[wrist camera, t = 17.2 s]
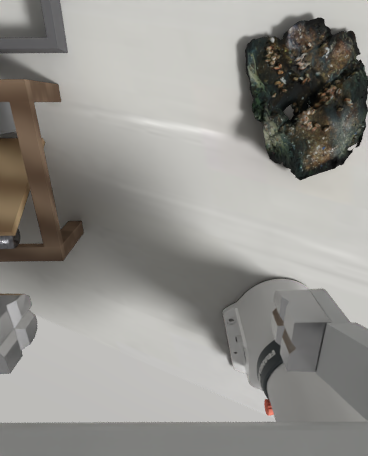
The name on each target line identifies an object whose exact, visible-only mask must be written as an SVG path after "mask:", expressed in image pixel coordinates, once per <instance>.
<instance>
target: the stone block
mask: <svg viewBox="0 0 368 456" xmlns="http://www.w3.org/2000/svg"><path fill="white" fill-rule="evenodd" d="M10 132H16V128H15V124H14V120H13V115H12V111H11V107H10V103H9V102H0V134H4V133H10Z"/></svg>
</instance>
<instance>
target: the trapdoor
mask: <svg viewBox="0 0 368 456" xmlns="http://www.w3.org/2000/svg"><path fill="white" fill-rule="evenodd" d="M41 139H42V144H43V148H44V145H45V141H44V140H43V138H41ZM29 191H30V186H29V182H28V178H27V174H26V170H25V165H24V161H23V157H22V153H21V149H20V145H19V140H18V138H0V249H15V248H16V247H17V246H18V245H19V242H20V232H19V230H18V225H19V222H20V219H21V216H22V213H23V210H24V207H25V204H26V201H27V197H28V194H29Z"/></svg>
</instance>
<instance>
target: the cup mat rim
mask: <svg viewBox="0 0 368 456" xmlns="http://www.w3.org/2000/svg"><path fill="white" fill-rule="evenodd" d="M40 1H41V6H42V12H43V18H44V23H45V29H46V35H47V38H0V53H68V51H67V44H66V38H65V31H64V24H63V18H62V11H61V5H60V0H40Z"/></svg>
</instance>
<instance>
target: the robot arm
mask: <svg viewBox="0 0 368 456" xmlns="http://www.w3.org/2000/svg"><path fill="white" fill-rule="evenodd" d="M31 306H32V302H31V299H30V297H29V296H28V295H26V294H0V374H9V373H11V372H12V370H13V369H14V367H15V366H16V364H17V363H18V361H19V360H20V359H21V357H22V349H24V348H25V347H27V346H28V345H30V344H31V342H32V341H33V339H34V337H35V334H36V331H37V319H36V316H35V314H33V313H32V312H31V311H30V310H29V309H30V307H31ZM223 318H224V324H225V329H226V334H227V340H228V345H229V350H230V355H231V360H232V365H233V368H234V370H236V371H238V372H240V373H243V374H247V378H248V382H249V384H250V385H251V386H253V387H255V388H257V389H260V390H263V391H264V393H265V395H266V397H267V398H268V399H265V411H266V414H267V415H274V417H275V420H276V422H115V423H114V422H108V423H107V422H106V423H105V422H101V423H100V422H99V423H98V422H94V423H0V456H368V329H367V328H365V327H363V326H361V325H360V324H358V323H351V322H350V321H349V319H348V318H347V317H346V316H345V314H344V313H343V312H342V310H341V309H340V308H339V307H338V305H337V304H336V303H335V301H334V300H333V299H332V298H331V296H330V295H329V294H328V292H327V291H326V290H324V289H309V288H308V287H306V286H305V285H304V284H302V283H300V282H297V281H294V280H290V279H273V280H268V281H265V282H262V283H260V284H258V285H256V286H254V287H252V288H251V289H250V290H248V291H247V292H246V293H245V294H244V295H243V296H242V297H241V298H240V299H239V300H238V301H237V302H236V303H234V304H232V305H230V306H228V307H227V308H225V309H224V310H223Z"/></svg>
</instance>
